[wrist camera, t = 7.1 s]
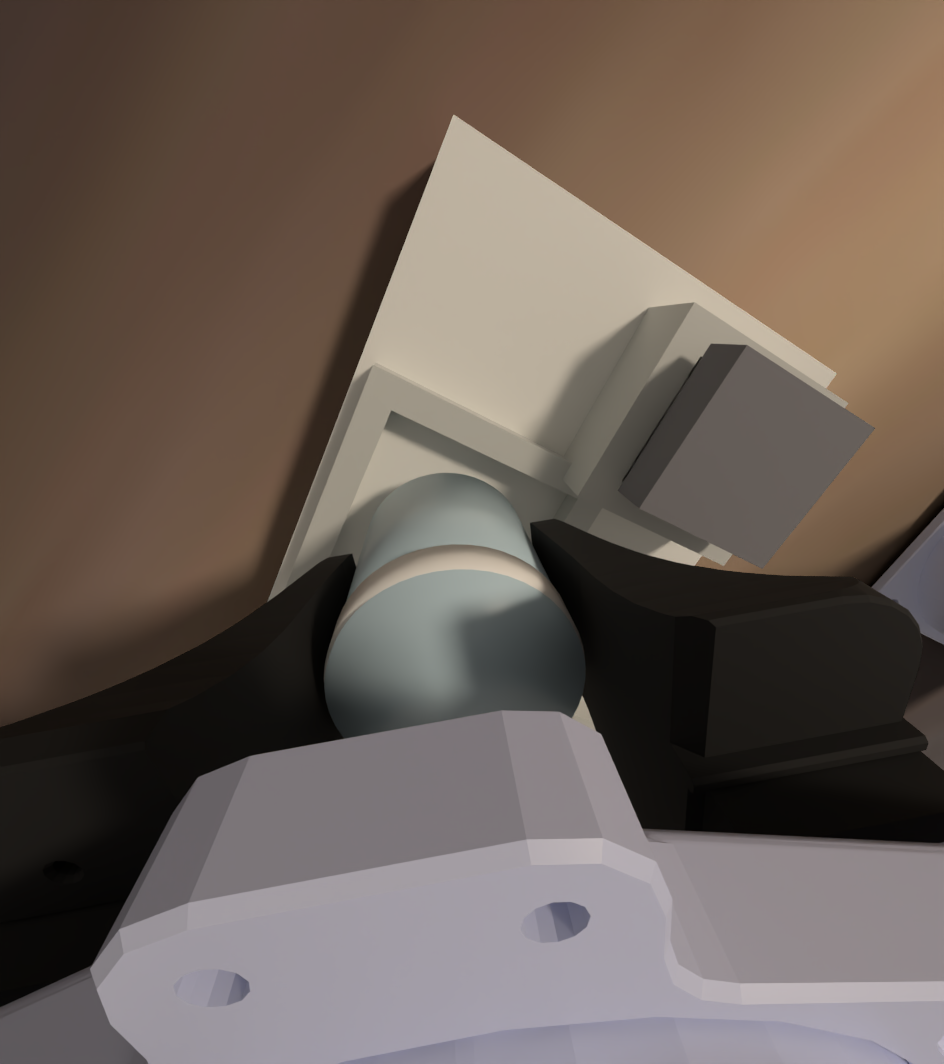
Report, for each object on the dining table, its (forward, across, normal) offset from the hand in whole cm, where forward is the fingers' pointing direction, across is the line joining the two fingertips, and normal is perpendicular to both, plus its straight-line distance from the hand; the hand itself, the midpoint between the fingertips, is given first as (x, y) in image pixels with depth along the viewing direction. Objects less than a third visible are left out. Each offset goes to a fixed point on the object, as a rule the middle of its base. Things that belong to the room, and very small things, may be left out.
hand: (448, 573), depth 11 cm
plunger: (+2, -7, -2) cm, 7 cm away
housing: (+4, -1, +2) cm, 5 cm away
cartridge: (+1, 0, 0) cm, 1 cm away
